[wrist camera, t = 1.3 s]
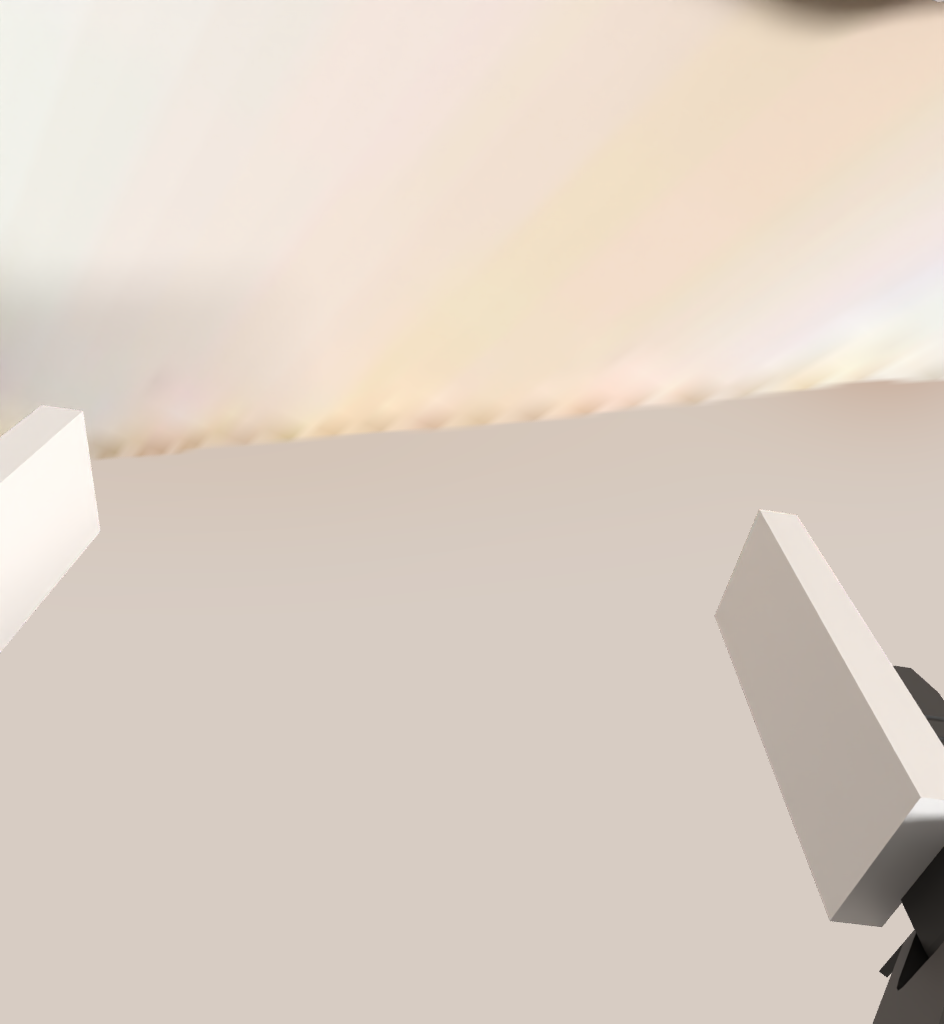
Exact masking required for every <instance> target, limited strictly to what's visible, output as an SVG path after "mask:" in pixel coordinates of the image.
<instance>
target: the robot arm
mask: <svg viewBox="0 0 944 1024" xmlns="http://www.w3.org/2000/svg"><path fill="white" fill-rule="evenodd" d="M99 532H100V525H99V518H98V511H97V504H96V497H95V491H94V484H93V477H92V469H91V463H90V455H89V448H88V441H87V434H86V427H85V421H84V414H83V411H81V410H74V409H67V408H60V407H54V406H47V405H41V406H39V407H38V408H37V409H36V410H34V411H33V412H32V413H30V414H29V415H28V416H27V417H25V418H24V419H23V420H21V421H20V422H19V423H18V424H16V425H15V426H14V427H13V428H11V429H10V430H9V431H7V432H6V433H5V434H4V435H2V436H1V437H0V652H1V651H2V650H3V649H4V648H5V646H6V645H7V644H8V643H9V642H10V640H11V639H12V638H13V637H14V635H15V634H16V633H17V632H18V631H19V629H20V628H21V627H22V626H23V625H24V623H25V622H26V621H27V620H28V619H29V617H30V616H31V615H32V614H33V612H34V611H35V610H36V609H37V608H38V606H39V605H40V604H41V602H42V601H43V600H44V599H45V598H46V597H47V596H48V594H49V593H50V592H51V591H52V589H53V588H54V587H55V586H56V585H57V583H58V582H59V581H60V580H61V579H62V577H63V576H64V575H65V573H66V572H67V571H68V570H69V569H70V568H71V566H72V565H73V564H74V563H75V561H76V560H77V559H78V558H79V557H80V555H81V554H82V553H83V552H84V551H85V549H86V548H87V547H88V546H89V545H90V543H91V542H92V541H93V539H94V538H95V537H96V536H97V535H98V533H99ZM715 618H716V621H717V623H718V626H719V629H720V631H721V634H722V637H723V639H724V642H725V644H726V647H727V650H728V653H729V655H730V658H731V660H732V663H733V666H734V668H735V671H736V674H737V676H738V679H739V682H740V684H741V687H742V690H743V692H744V695H745V698H746V700H747V703H748V706H749V708H750V711H751V714H752V716H753V719H754V722H755V724H756V726H757V729H758V732H759V735H760V737H761V740H762V743H763V745H764V748H765V751H766V753H767V756H768V759H769V761H770V764H771V767H772V769H773V772H774V774H775V777H776V780H777V782H778V785H779V788H780V790H781V793H782V795H783V798H784V801H785V803H786V806H787V809H788V812H789V814H790V817H791V820H792V822H793V825H794V827H795V830H796V833H797V835H798V838H799V841H800V843H801V846H802V849H803V851H804V854H805V856H806V859H807V862H808V865H809V867H810V870H811V872H812V875H813V878H814V881H815V883H816V886H817V888H818V891H819V893H820V896H821V899H822V902H823V904H824V907H825V910H826V912H827V915H828V918H829V920H830V921H834V922H843V923H852V924H861V925H869V926H877V927H882V926H883V925H884V924H885V923H886V921H887V920H888V919H889V918H890V916H891V915H892V914H893V913H894V911H895V910H896V909H897V908H898V907H899V905H900V904H901V903H903V906H904V908H905V910H906V912H907V914H908V916H909V918H910V920H911V922H912V925H913V927H914V929H915V930H914V931H913V932H912V933H911V935H910V936H909V937H908V938H907V939H906V940H905V942H904V943H903V944H902V945H901V946H900V947H899V949H898V950H897V951H896V952H895V953H894V954H893V956H892V957H891V958H890V959H889V960H888V961H887V963H886V964H885V965H884V966H883V967H882V968H881V970H880V971H879V972H881V973H882V974H883V975H884V976H886V977H888V976H889V975H890V974H891V973H892V974H891V977H890V980H889V982H888V985H887V987H886V990H885V993H884V995H883V998H882V1000H881V1003H880V1006H879V1009H878V1011H877V1014H876V1016H875V1019H874V1022H873V1024H944V700H943V699H942V697H941V696H940V694H939V693H938V692H937V691H936V690H935V689H934V688H932V687H931V686H930V685H929V684H928V683H927V682H926V681H925V680H924V679H923V678H921V677H920V676H919V675H918V674H917V673H916V672H915V671H914V670H912V669H911V668H905V667H899V666H892V664H891V662H890V661H889V659H888V658H887V656H886V654H885V653H884V651H883V650H882V648H881V647H880V645H879V643H878V642H877V640H876V639H875V637H874V636H873V634H872V632H871V631H870V629H869V628H868V626H867V625H866V623H865V621H864V620H863V618H862V617H861V615H860V614H859V612H858V611H857V609H856V607H855V606H854V604H853V603H852V601H851V600H850V598H849V596H848V595H847V593H846V592H845V590H844V588H843V587H842V585H841V584H840V582H839V580H838V579H837V577H836V576H835V574H834V573H833V571H832V569H831V568H830V566H829V565H828V563H827V561H826V560H825V558H824V557H823V555H822V554H821V552H820V550H819V549H818V548H817V546H816V544H815V543H814V541H813V539H812V538H811V537H810V535H809V533H808V532H807V530H806V529H805V527H804V526H803V524H802V522H801V521H800V519H799V517H798V516H797V515H795V514H789V513H782V512H775V511H768V510H761V509H759V511H758V513H757V516H756V518H755V520H754V523H753V525H752V528H751V530H750V532H749V535H748V537H747V540H746V542H745V544H744V547H743V549H742V551H741V554H740V556H739V559H738V561H737V563H736V566H735V568H734V571H733V573H732V575H731V578H730V580H729V583H728V585H727V587H726V590H725V592H724V594H723V597H722V599H721V602H720V604H719V606H718V609H717V611H716V614H715Z"/></svg>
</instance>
